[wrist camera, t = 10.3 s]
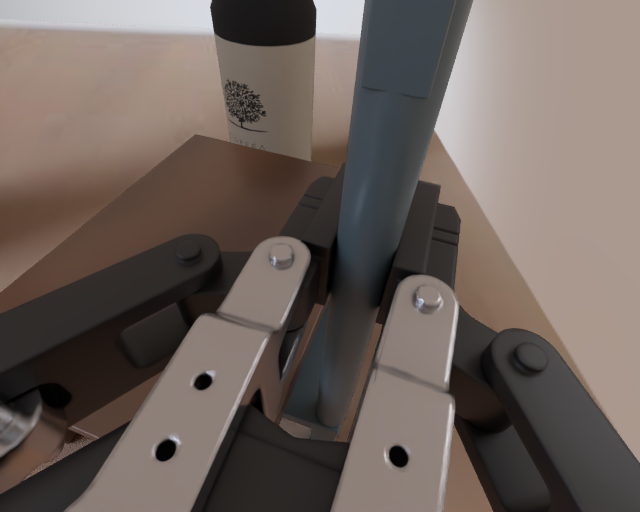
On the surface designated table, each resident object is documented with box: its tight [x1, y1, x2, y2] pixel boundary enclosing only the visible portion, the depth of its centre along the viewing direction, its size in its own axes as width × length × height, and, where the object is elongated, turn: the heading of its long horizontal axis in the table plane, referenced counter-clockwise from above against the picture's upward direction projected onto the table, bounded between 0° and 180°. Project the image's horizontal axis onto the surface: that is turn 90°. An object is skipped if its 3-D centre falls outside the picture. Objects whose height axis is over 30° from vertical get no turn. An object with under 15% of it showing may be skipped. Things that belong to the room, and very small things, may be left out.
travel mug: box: [210, 0, 316, 161], centre depth 31 cm, size 8×8×18 cm
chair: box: [282, 0, 473, 441], centre depth 15 cm, size 10×10×21 cm
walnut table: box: [0, 135, 340, 444], centre depth 21 cm, size 13×18×9 cm
